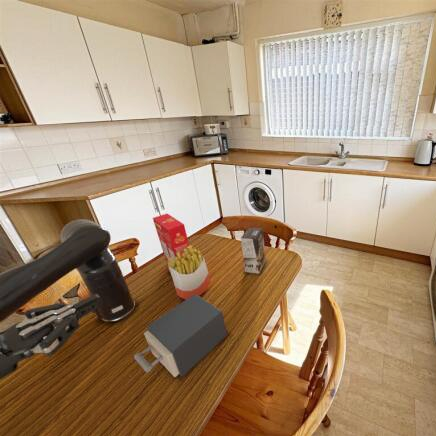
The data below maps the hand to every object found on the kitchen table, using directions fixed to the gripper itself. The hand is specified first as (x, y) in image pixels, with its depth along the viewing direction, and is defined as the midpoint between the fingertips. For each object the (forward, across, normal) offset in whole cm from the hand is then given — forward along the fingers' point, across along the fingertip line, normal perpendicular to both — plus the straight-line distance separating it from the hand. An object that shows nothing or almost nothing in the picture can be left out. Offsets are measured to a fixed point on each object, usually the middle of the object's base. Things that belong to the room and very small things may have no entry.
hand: (100, 299), depth 46 cm
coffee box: (+50, -10, -28) cm, 59 cm away
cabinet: (+14, 0, -28) cm, 31 cm away
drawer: (+10, 0, -27) cm, 28 cm away
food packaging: (+29, -30, -28) cm, 50 cm away
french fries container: (+26, -17, -28) cm, 42 cm away
